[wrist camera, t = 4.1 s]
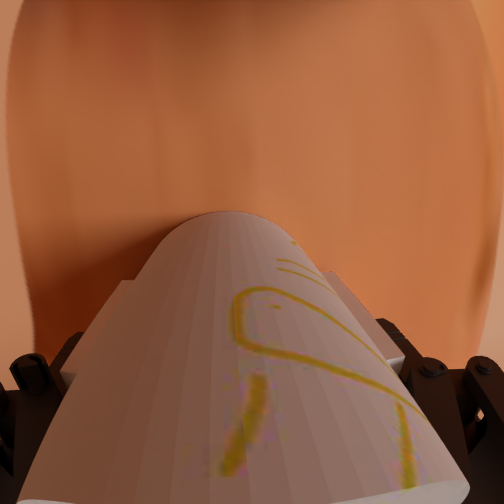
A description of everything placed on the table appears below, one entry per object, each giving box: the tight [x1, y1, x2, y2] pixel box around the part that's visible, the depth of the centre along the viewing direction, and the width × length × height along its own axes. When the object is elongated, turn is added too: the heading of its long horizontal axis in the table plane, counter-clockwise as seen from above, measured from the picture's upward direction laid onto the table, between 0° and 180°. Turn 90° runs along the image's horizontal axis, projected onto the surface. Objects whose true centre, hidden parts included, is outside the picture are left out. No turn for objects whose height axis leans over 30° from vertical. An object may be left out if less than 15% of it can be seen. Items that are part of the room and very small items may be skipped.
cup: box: [16, 211, 470, 504], centre depth 9 cm, size 8×8×12 cm
